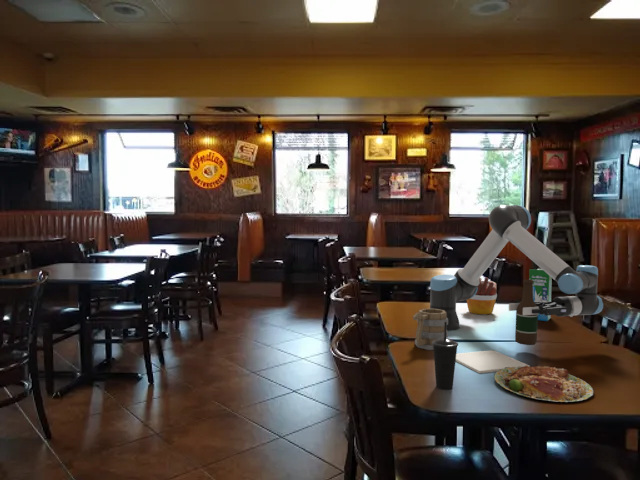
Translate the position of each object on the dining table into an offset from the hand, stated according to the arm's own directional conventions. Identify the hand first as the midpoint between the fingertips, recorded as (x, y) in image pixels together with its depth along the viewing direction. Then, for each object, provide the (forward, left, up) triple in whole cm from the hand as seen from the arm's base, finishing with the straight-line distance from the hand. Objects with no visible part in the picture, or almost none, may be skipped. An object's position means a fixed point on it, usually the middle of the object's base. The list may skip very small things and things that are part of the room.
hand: (516, 309), depth 190 cm
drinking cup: (+25, -45, -17) cm, 54 cm away
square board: (+7, -17, -17) cm, 25 cm away
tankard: (-16, -28, -17) cm, 37 cm away
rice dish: (+33, -16, -17) cm, 40 cm away
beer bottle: (0, +5, -13) cm, 14 cm away
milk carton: (-48, +53, -17) cm, 74 cm away
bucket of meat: (-68, +33, -17) cm, 78 cm away
